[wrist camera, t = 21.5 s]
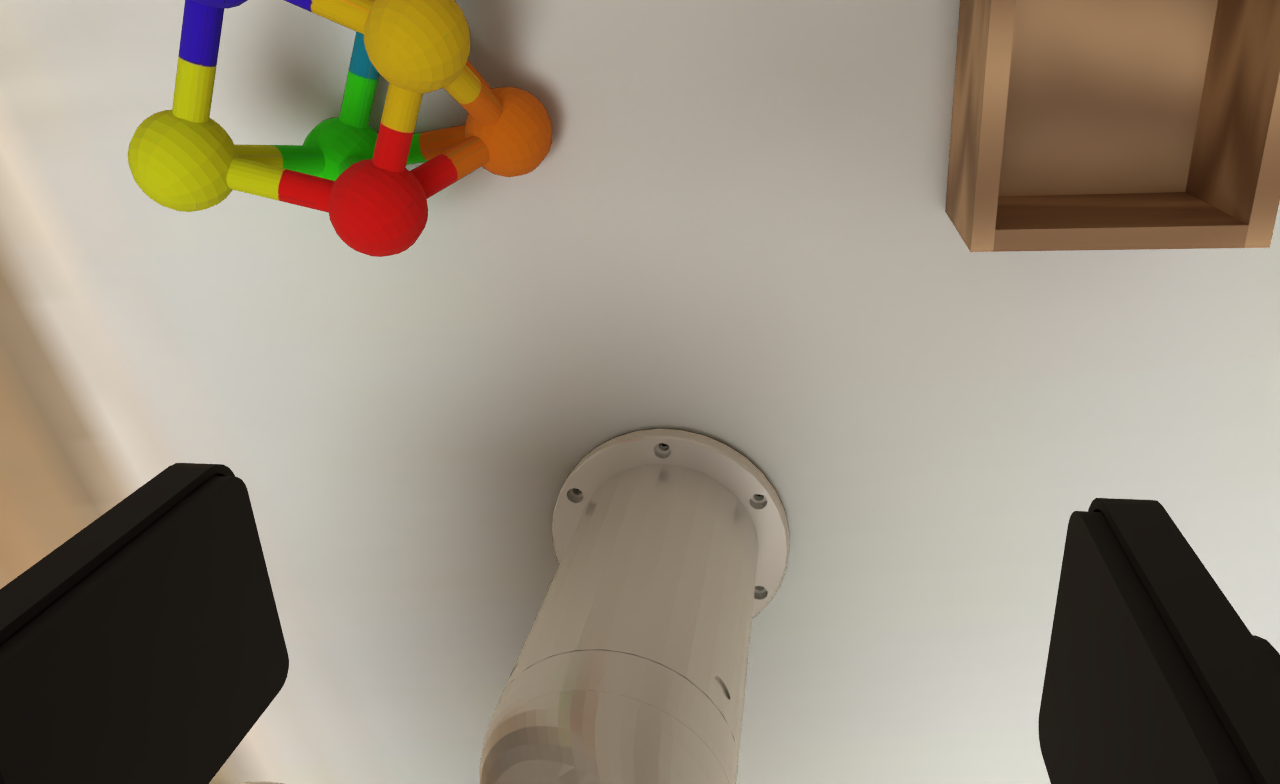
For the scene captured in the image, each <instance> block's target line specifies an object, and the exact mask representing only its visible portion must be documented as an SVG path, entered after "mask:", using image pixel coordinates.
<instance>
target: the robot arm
mask: <svg viewBox="0 0 1280 784" xmlns="http://www.w3.org/2000/svg"><path fill="white" fill-rule="evenodd" d="M660 443H665V444H667V445H668V446H667V447H664V446H662V445H661V444H660ZM575 488H576V489H575ZM577 489H579V490H580V491H579V490H577ZM756 494H760V495H763V496H761V497H758V496H756ZM552 536H553V545H554V550H555V553H556V556H557V559H558V562H559V567H558V570H557V572H556V574H555V576H554V579H553V581H552V583H551V585H550V588H549V590H548V592H547V594H546V597H545V599H544V601H543V603H542V606H541V608H540V610H539V612H538V615H537V617H536V619H535V621H534V624H533V626H532V628H531V630H530V633H529V635H528V637H527V639H526V642H525V644H524V646H523V648H522V651H521V653H520V655H519V657H518V660H517V662H516V664H515V666H514V669H513V671H512V673H511V676H510V678H509V680H508V682H507V685H506V687H505V689H504V691H503V694H502V696H501V698H500V701H499V703H498V705H497V708H496V710H495V712H494V715H493V717H492V719H491V722H490V724H489V727H488V730H487V733H486V736H485V739H484V745H483V750H482V756H481V762H480V784H736V780H737V769H738V756H739V745H740V735H741V725H742V714H743V704H744V694H745V683H746V673H747V662H748V652H749V642H750V631H751V621H752V618H754V617H756V616H757V615H758V614H759V613H760V612H761V611H762V610H763V609H764V608H765V607H766V606H767V605H768V604H769V603H770V601H771V600H772V598H773V596H774V595H775V593H776V592H777V590H778V589H779V587H780V585H781V582H782V580H783V577H784V574H785V571H786V568H787V561H788V553H789V529H788V524H787V520H786V515H785V511H784V508H783V506H782V504H781V502H780V500H779V497H778V495H777V493H776V491H775V490H774V488H773V487H772V485H771V484H770V483H769V481H768V480H767V479H766V477H765V476H764V474H763V473H762V472H761V471H760V470H759V469H758V468H757V467H755V466H754V465H753V464H752V463H751V462H750V461H749V460H748V459H747V458H746V457H744V456H743V455H741V454H740V453H738V452H737V451H735V450H734V449H732V448H730V447H729V446H727V445H725V444H723V443H721V442H718V441H716V440H714V439H711V438H709V437H707V436H704V435H700V434H696V433H691V432H687V431H683V430H671V429H651V430H642V431H635V432H632V433H628V434H625V435H622V436H618V437H615V438H613V439H611V440H609V441H607V442H605V443H604V444H602V445H600V446H598V447H596V448H595V449H594V450H592V451H591V452H590V453H589V454H588V455H586V456H585V457H584V458H583V459H582V460H580V461H579V463H578V464H577V465H576V467H575V468H574V469H573V470H572V472H571V473H570V474H569V476H568V477H567V479H566V481H565V483H564V485H563V487H562V489H561V490H560V493H559V496H558V499H557V502H556V505H555V507H554V511H553V521H552ZM288 668H289V659H288V653H287V649H286V645H285V641H284V637H283V633H282V629H281V625H280V620H279V616H278V612H277V608H276V604H275V600H274V596H273V592H272V588H271V584H270V580H269V576H268V572H267V568H266V564H265V560H264V556H263V551H262V547H261V543H260V539H259V535H258V531H257V527H256V523H255V519H254V515H253V511H252V507H251V503H250V499H249V495H248V491H247V488H246V485H245V483H244V482H243V481H242V480H241V479H240V478H238V477H235V475H234V473H233V472H232V471H231V470H230V468H228V467H227V466H225V465H220V464H194V463H176V464H174V465H172V466H169V467H168V468H167V469H165V470H164V471H162V472H161V473H160V474H158V475H157V476H156V477H154V478H153V479H151V480H150V481H149V482H147V483H146V484H145V485H143V486H142V487H140V488H139V489H138V490H136V491H135V492H134V493H132V494H131V495H129V496H128V497H127V498H125V499H124V500H123V501H121V502H120V503H118V504H117V505H116V506H114V507H113V508H112V509H110V510H109V511H108V512H106V513H105V514H103V515H102V516H101V517H99V518H98V519H97V520H95V521H94V522H92V523H91V524H90V525H88V526H87V527H86V528H84V529H83V530H81V531H80V532H79V533H77V534H76V535H75V536H73V537H72V538H70V539H69V540H68V541H66V542H65V543H64V544H62V545H61V546H59V547H58V548H57V549H55V550H54V551H53V552H51V553H50V554H48V555H47V556H46V557H44V558H43V559H42V560H40V561H39V562H37V563H36V564H35V565H33V566H32V567H31V568H29V569H28V570H26V571H25V572H24V573H22V574H21V575H20V576H18V577H17V578H16V579H14V580H13V581H11V582H10V583H9V584H7V585H6V586H5V587H3V588H2V589H0V784H209V782H210V781H211V780H212V778H213V777H214V776H215V775H216V773H217V772H218V771H219V769H220V768H221V767H222V765H223V764H224V763H225V762H226V760H227V759H228V758H229V756H230V755H231V754H232V752H233V751H234V750H235V749H236V747H237V746H238V745H239V743H240V742H241V741H242V739H243V738H244V737H245V736H246V734H247V733H248V732H249V730H250V729H251V728H252V726H253V725H254V724H255V722H256V721H257V720H258V719H259V717H260V716H261V715H262V713H263V712H264V711H265V709H266V708H267V707H268V706H269V704H270V703H271V702H272V700H273V699H274V698H275V696H276V695H277V694H278V693H279V691H280V690H281V688H282V687H283V685H284V683H285V680H286V678H287V673H288ZM1039 740H1040V747H1041V752H1042V756H1043V759H1044V762H1045V765H1046V769H1047V772H1048V775H1049V778H1050V782H1051V784H1280V655H1279V653H1278V652H1277V651H1276V650H1275V648H1274V647H1273V646H1272V645H1271V644H1270V643H1269V642H1268V641H1267V640H1265V639H1263V638H1260V637H1258V636H1253V635H1252V634H1251V633H1250V632H1249V630H1248V629H1247V627H1246V626H1245V624H1244V623H1243V621H1242V620H1241V619H1240V617H1239V616H1238V614H1237V613H1236V611H1235V610H1234V608H1233V607H1232V606H1231V604H1230V603H1229V601H1228V600H1227V598H1226V597H1225V595H1224V594H1223V593H1222V591H1221V590H1220V588H1219V587H1218V585H1217V584H1216V582H1215V581H1214V580H1213V578H1212V577H1211V575H1210V574H1209V572H1208V571H1207V569H1206V568H1205V567H1204V565H1203V564H1202V562H1201V561H1200V559H1199V558H1198V556H1197V555H1196V554H1195V552H1194V551H1193V549H1192V548H1191V546H1190V545H1189V543H1188V542H1187V541H1186V539H1185V538H1184V536H1183V535H1182V533H1181V532H1180V531H1179V529H1178V528H1177V526H1176V525H1175V523H1174V522H1173V520H1172V519H1171V518H1170V516H1169V515H1168V513H1167V512H1166V510H1165V509H1164V507H1163V506H1162V505H1161V504H1160V503H1159V502H1158V501H1154V500H1133V499H1107V498H1096V499H1094V500H1093V501H1092V503H1091V505H1090V507H1089V510H1088V512H1082V511H1074V512H1073V513H1072V515H1071V517H1070V519H1069V524H1068V530H1067V536H1066V543H1065V549H1064V556H1063V562H1062V569H1061V575H1060V582H1059V588H1058V595H1057V602H1056V608H1055V615H1054V621H1053V628H1052V634H1051V641H1050V647H1049V654H1048V661H1047V667H1046V674H1045V680H1044V687H1043V693H1042V700H1041V706H1040V713H1039ZM237 784H283V783H275V782H244V783H237Z"/></svg>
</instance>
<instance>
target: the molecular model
mask: <svg viewBox="0 0 1280 784" xmlns="http://www.w3.org/2000/svg"><path fill="white" fill-rule="evenodd" d="M246 1H247V0H185V7H184V16H183V24H182V32H181V41H180V49H179V58H178V66H177V74H176V83H175V91H174V100H173V108H172V110H165V111H162V112H158V113H155V114H153V115H151V116H150V117H148V118H147V119H145V120H144V121H143V122H142V123H141V124H140V126H139V127H138V128H137V130H136V132H135V134H134V136H133V138H132V140H131V142H130V144H129V150H128V162H129V167H130V169H131V172H132V175H133V177H134V180H135V182H136V183H137V184H138V186H139V187H140V188H141V189H142V191H143V192H144V193H145V194H146V195H147V196H149V197H150V198H151V199H153V200H154V201H155V202H157V203H159V204H160V205H162V206H165V207H168V208H171V209H174V210H177V211H185V212H192V211H199V210H203V209H207V208H209V207H212V206H214V205H217V204H218V203H220V202H221V201H223V200H224V199H225V198H226V197H227V196H228V195H229V194H230V192H231V191H232V190H237V191H241V192H245V193H250V194H254V195H258V196H262V197H266V198H271V199H275V200H279V201H283V202H287V203H291V204H296V205H300V206H304V207H308V208H312V209H316V210H321V211H325V212H329V216H330V221H331V223H332V225H333V227H334V229H335V231H336V233H337V234H338V236H339V237H340V238H341V239H342V240H343V241H344V242H345V243H346V244H347V245H348V246H349V247H351V248H353V249H354V250H356V251H358V252H361V253H364V254H367V255H370V256H378V257H382V256H389V255H394V254H399V253H401V252H403V251H405V250H407V249H408V248H409V247H410V246H412V245H413V244H414V243H415V241H416V240H417V238H418V237H419V236H420V234H421V232H422V231H423V229H424V228H425V225H426V222H427V218H428V206H427V200H426V199H427V198H429V197H431V196H432V195H434V194H436V193H437V192H439V191H441V190H442V189H444V188H446V187H447V186H449V185H451V184H453V183H454V182H456V181H458V180H459V179H461V178H463V177H464V176H466V175H468V174H469V173H471V172H473V171H474V170H476V169H478V168H479V167H481V166H482V167H483V168H485V169H486V170H488V171H490V172H491V173H493V174H497V175H500V176H505V177H513V176H518V175H523V174H527V173H529V172H531V171H533V170H534V169H535V168H536V167H538V166H539V164H540V163H541V162H542V161H543V159H544V158H545V157H546V155H547V154H548V152H549V150H550V147H551V143H552V124H551V121H550V118H549V116H548V113H547V111H546V109H545V107H544V106H543V105H542V103H541V102H540V101H539V100H538V99H537V98H536V97H534V96H533V95H532V94H530V93H529V92H526V91H524V90H521V89H519V88H515V87H502V88H495V89H491V87H490V86H489V85H488V84H487V83H486V81H485V80H484V79H483V78H482V76H481V75H480V74H479V73H478V72H477V70H476V69H475V68H474V67H473V66H472V64H471V63H470V62H469V61H468V56H469V54H470V31H469V27H468V23H467V21H466V19H465V16H464V14H463V12H462V10H461V9H460V7H459V6H458V5H457V3H456V2H455V1H454V0H285V1H287V2H290V3H292V4H294V5H296V6H299V7H301V8H303V9H306V10H308V11H310V12H313V13H315V14H317V15H320V16H322V17H324V18H327V19H329V20H331V21H334V22H336V23H338V24H341V25H343V26H345V27H348V28H350V29H352V30H355V31H357V32H356V37H355V42H354V47H353V52H352V57H351V62H350V67H349V72H348V77H347V82H346V87H345V92H344V97H343V102H342V107H341V112H340V117H338V118H330V119H327V120H325V121H323V122H321V123H320V124H319V125H317V126H316V127H315V128H314V129H313V130H312V131H311V132H310V134H309V135H308V136H307V137H306V139H305V142H304V144H303V146H296V145H234V144H233V141H232V139H231V138H230V136H229V135H228V134H227V132H226V131H225V130H224V129H223V128H222V127H221V126H220V125H219V124H218V123H216V122H215V121H214V120H212V119H211V118H209V116H210V108H211V101H212V94H213V87H214V79H215V72H216V65H217V57H218V50H219V43H220V36H221V28H222V21H223V14H224V8H231V7H235V6H239V5H241V4H242V3H244V2H246ZM379 74H380V75H381V76H383V77H384V78H385V79H386V80H387V81H388V82H389V86H388V91H387V95H386V100H385V104H384V109H383V113H382V118H381V122H380V127H379V132H378V134H377V133H376V131H375V130H374V129H372V128H371V127H370V126H368V123H369V119H370V114H371V109H372V105H373V100H374V95H375V91H376V86H377V81H378V77H379ZM440 88H444V89H445V90H446V91H447V92H448V93H449V94H450V95H451V96H452V97H453V98H454V99H455V100H456V101H457V102H458V103H459V104H460V105H461V106H462V107H463V108H464V109H465V110H466V111H467V112H468V116H467V120H466V125H461V126H455V127H450V128H444V129H438V130H433V131H427V132H421V133H415V134H414V129H415V125H416V121H417V117H418V113H419V108H420V104H421V100H422V96H423V93H429V92H432V91H435V90H437V89H440ZM425 161H427V162H425ZM419 162H425V163H424V164H422V165H420V166H418V167H417V168H415V169H413V170H411V171H408V170H407V169H406V168H405V167H406V165H407V164H413V163H419Z"/></svg>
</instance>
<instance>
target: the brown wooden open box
mask: <svg viewBox="0 0 1280 784" xmlns="http://www.w3.org/2000/svg"><path fill="white" fill-rule="evenodd" d="M1279 201H1280V0H960V13H959V27H958V41H957V55H956V69H955V83H954V97H953V112H952V126H951V140H950V154H949V168H948V182H947V196H946V211H945V212H946V213H947V215H948V216H949V218H950V220H951V221H952V223H953V224H954V226H955V228H956V229H957V231H958V232H959V234H960V236H961V237H962V239H963V241H964V242H965V244H966V245H967V247H968V249H969V250H970V252H987V251H1055V250H1124V249H1193V248H1261V247H1270V243H1271V238H1272V234H1273V229H1274V224H1275V219H1276V215H1277V210H1278V205H1279Z"/></svg>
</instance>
